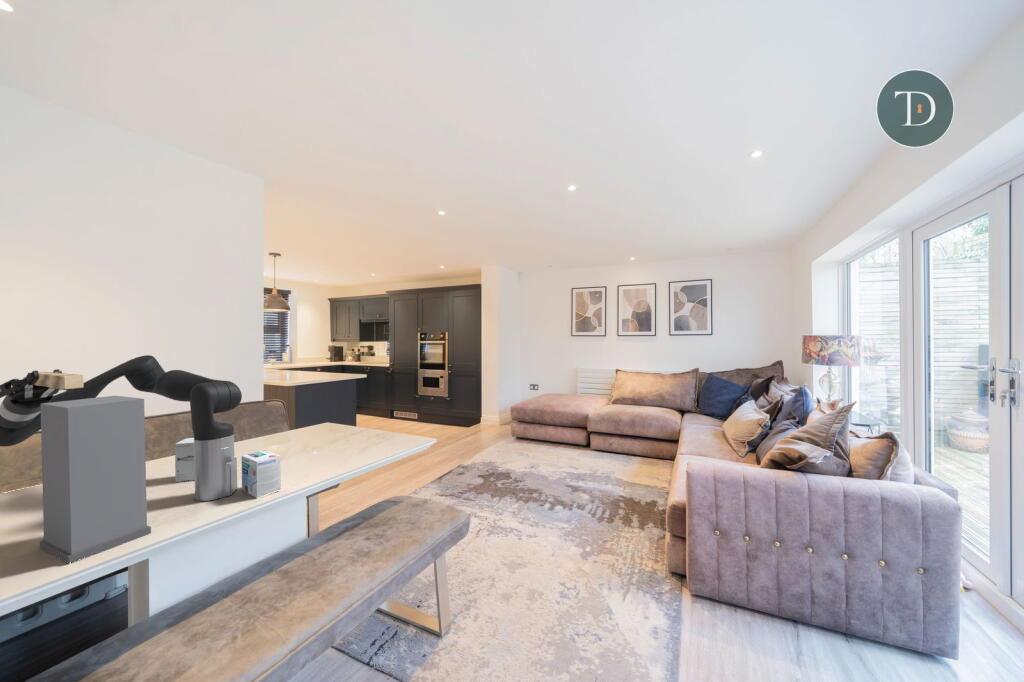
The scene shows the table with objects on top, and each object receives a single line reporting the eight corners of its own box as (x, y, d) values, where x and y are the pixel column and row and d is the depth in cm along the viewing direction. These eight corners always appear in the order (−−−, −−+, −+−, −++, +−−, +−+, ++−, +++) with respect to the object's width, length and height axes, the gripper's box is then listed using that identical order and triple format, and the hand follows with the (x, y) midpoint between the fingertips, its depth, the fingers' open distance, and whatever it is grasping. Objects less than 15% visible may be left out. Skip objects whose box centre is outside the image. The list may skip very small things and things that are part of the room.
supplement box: (174, 482, 119) (173, 443, 119) (187, 474, 126) (186, 437, 126) (201, 480, 121) (200, 441, 121) (213, 472, 128) (212, 435, 128)
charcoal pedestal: (39, 548, 82) (35, 403, 82) (120, 521, 94) (117, 395, 94) (69, 564, 76) (65, 408, 76) (150, 533, 88) (147, 398, 88)
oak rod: (28, 384, 96) (27, 372, 96) (46, 382, 99) (45, 371, 99) (64, 389, 87) (64, 376, 87) (83, 387, 90) (83, 375, 90)
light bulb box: (241, 491, 112) (240, 455, 112) (265, 483, 118) (265, 449, 118) (257, 499, 106) (256, 461, 106) (282, 491, 112) (281, 455, 112)
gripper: (-22, 394, 95) (-2, 362, 89) (61, 386, 108) (84, 358, 102) (-16, 420, 94) (5, 390, 88) (67, 410, 107) (90, 382, 101)
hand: (47, 373), depth 95 cm, fingers closed on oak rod, 3 cm apart
